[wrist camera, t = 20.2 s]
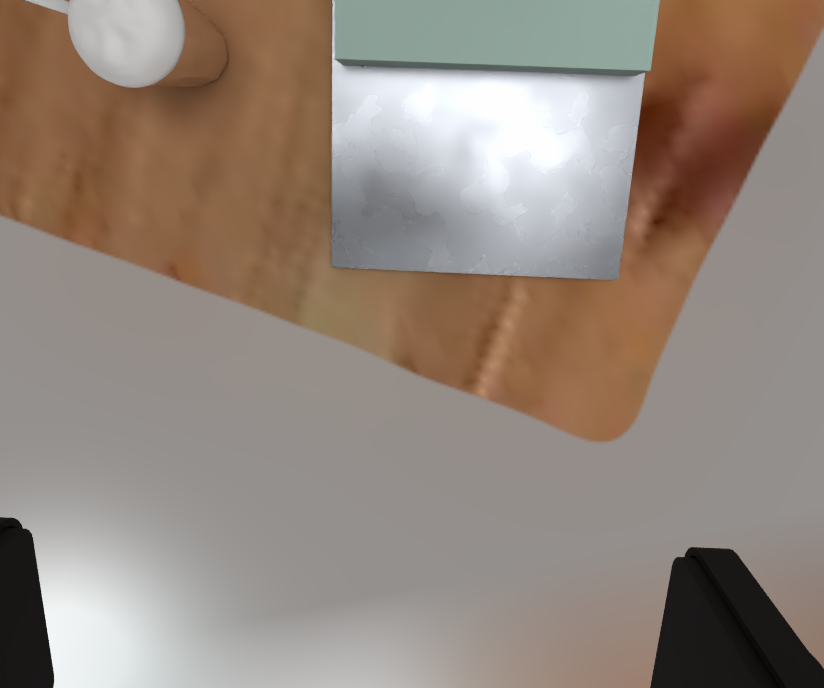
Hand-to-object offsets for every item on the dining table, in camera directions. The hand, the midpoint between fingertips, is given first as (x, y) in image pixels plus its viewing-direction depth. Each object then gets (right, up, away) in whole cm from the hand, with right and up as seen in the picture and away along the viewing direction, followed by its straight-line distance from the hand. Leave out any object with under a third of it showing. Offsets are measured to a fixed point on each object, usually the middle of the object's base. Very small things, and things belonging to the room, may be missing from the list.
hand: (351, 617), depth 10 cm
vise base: (+5, +18, +24) cm, 30 cm away
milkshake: (-10, +19, +24) cm, 33 cm away
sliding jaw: (+5, +19, +22) cm, 29 cm away
